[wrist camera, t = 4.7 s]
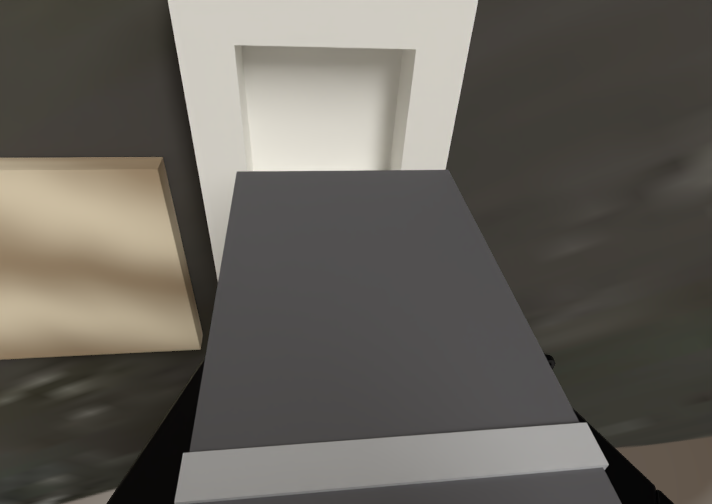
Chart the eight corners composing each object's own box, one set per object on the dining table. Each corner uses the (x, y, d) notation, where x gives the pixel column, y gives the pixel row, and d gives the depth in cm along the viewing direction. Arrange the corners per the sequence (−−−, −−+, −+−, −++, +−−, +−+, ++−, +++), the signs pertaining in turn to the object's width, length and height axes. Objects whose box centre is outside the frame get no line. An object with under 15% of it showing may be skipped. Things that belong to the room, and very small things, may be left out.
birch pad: (203, 335, 26) (200, 349, 26) (-12, 345, 25) (-21, 360, 24) (162, 157, 19) (157, 169, 19) (-136, 158, 18) (-155, 171, 17)
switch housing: (398, 320, 27) (410, 373, 24) (238, 327, 26) (232, 383, 23) (455, -45, 16) (491, -25, 13) (180, -58, 15) (154, -39, 12)
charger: (421, 314, 13) (517, 638, 7) (252, 321, 12) (225, 675, 7) (450, 167, 10) (637, 518, 5) (234, 169, 10) (162, 566, 4)
